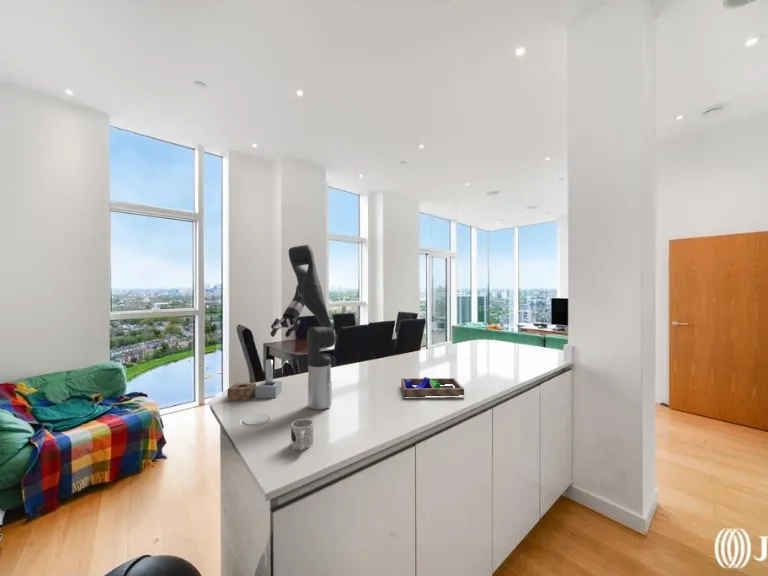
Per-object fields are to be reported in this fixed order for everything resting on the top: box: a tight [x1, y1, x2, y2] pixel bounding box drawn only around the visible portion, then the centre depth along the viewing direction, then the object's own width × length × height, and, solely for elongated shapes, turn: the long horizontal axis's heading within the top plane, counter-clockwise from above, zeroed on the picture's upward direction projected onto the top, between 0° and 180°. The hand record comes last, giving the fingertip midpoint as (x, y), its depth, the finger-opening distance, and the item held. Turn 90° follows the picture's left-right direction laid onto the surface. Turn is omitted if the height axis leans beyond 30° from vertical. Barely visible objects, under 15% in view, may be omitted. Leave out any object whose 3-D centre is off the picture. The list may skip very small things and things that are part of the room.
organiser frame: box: [400, 377, 465, 398], centre depth 150 cm, size 27×18×4 cm, turn 91°
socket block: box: [254, 380, 283, 399], centre depth 145 cm, size 9×9×5 cm
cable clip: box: [405, 376, 431, 389], centre depth 150 cm, size 12×4×6 cm, turn 118°
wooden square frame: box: [226, 382, 257, 401], centre depth 142 cm, size 9×9×5 cm
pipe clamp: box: [430, 379, 441, 389], centre depth 151 cm, size 11×4×5 cm, turn 1°
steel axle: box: [265, 358, 274, 386], centre depth 145 cm, size 3×3×16 cm
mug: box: [290, 418, 314, 451], centre depth 96 cm, size 10×7×7 cm
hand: (279, 336), depth 153 cm, fingers open, 8 cm apart
